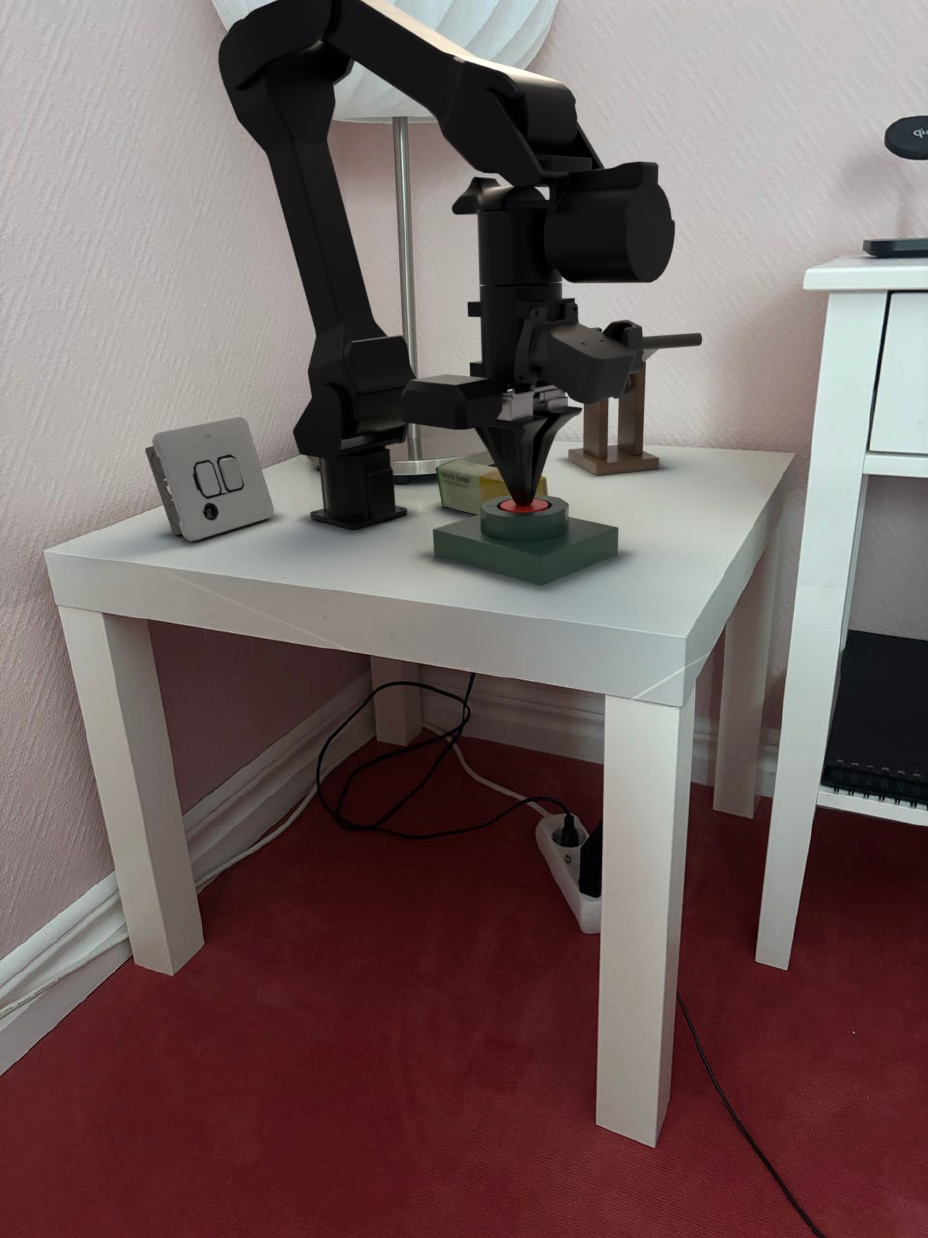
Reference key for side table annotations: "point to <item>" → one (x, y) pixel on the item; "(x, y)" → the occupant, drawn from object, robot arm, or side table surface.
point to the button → (534, 507)
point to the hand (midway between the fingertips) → (523, 504)
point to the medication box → (473, 485)
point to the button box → (526, 541)
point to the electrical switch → (209, 478)
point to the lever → (668, 343)
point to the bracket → (630, 434)
